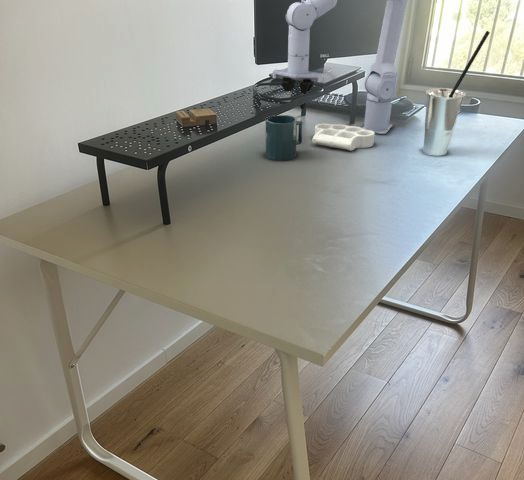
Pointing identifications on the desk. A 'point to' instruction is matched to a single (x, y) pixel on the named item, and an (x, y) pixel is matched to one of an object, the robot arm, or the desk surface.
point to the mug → (282, 137)
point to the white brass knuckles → (343, 136)
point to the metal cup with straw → (444, 112)
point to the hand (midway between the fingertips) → (296, 107)
